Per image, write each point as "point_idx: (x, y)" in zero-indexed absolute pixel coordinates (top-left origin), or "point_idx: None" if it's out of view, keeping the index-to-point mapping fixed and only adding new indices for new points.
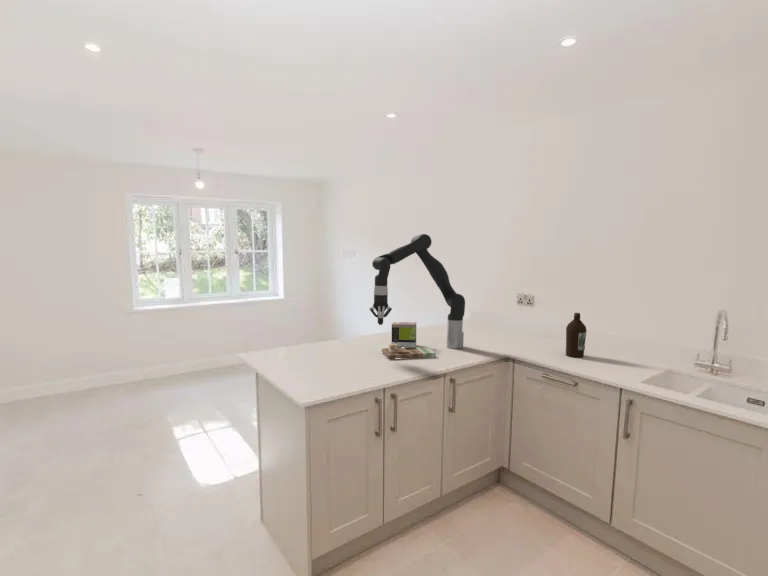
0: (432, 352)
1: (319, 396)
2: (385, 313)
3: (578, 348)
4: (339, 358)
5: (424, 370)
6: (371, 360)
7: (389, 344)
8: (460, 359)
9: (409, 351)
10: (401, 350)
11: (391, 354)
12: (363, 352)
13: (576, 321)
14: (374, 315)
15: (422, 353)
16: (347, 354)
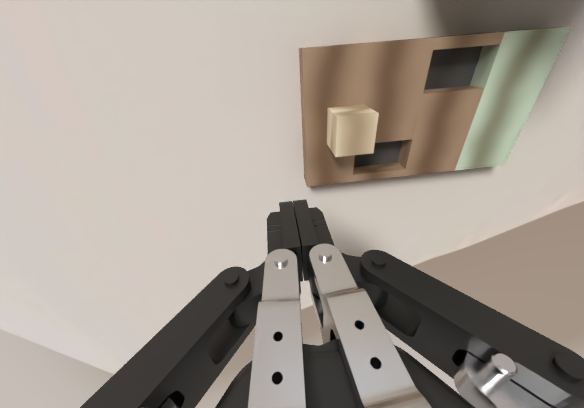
0: (499, 157)
1: None
2: (400, 292)
3: None
4: (81, 143)
5: None
6: (236, 181)
7: (336, 134)
8: (544, 188)
9: (419, 133)
10: (392, 110)
11: (322, 176)
12: (188, 23)
13: None
14: (216, 331)
15: (451, 170)
16: (96, 64)
